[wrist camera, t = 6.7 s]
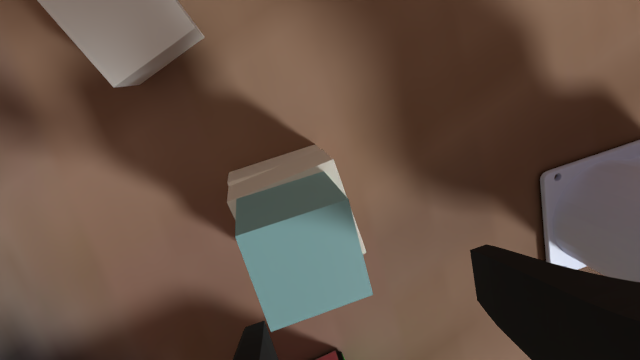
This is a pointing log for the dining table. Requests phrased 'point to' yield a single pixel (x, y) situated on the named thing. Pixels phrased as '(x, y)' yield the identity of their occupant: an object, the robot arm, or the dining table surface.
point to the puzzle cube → (332, 356)
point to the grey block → (126, 34)
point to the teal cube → (301, 249)
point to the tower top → (288, 179)
